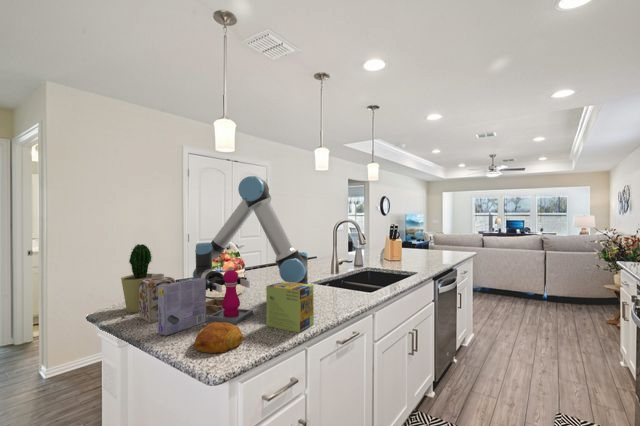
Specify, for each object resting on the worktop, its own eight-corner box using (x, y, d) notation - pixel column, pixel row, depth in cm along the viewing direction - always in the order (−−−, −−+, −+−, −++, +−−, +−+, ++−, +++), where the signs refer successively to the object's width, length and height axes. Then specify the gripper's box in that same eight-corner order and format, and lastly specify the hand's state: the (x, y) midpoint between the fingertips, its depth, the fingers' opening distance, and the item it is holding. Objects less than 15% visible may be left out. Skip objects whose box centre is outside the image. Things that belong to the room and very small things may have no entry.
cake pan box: (200, 319, 135) (200, 276, 135) (209, 321, 132) (208, 277, 132) (156, 334, 118) (156, 285, 118) (165, 337, 116) (164, 286, 116)
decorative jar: (148, 323, 130) (148, 278, 130) (138, 317, 138) (137, 274, 138) (178, 316, 139) (178, 273, 139) (167, 311, 146) (166, 270, 146)
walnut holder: (235, 306, 152) (235, 300, 152) (220, 313, 142) (220, 306, 142) (214, 304, 156) (214, 298, 156) (199, 311, 145) (199, 304, 145)
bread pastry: (214, 341, 118) (212, 318, 118) (250, 341, 112) (248, 317, 112) (183, 356, 104) (180, 330, 105) (222, 357, 98) (219, 330, 99)
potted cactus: (114, 314, 142) (113, 244, 142) (131, 304, 157) (130, 241, 157) (151, 313, 143) (150, 244, 143) (164, 303, 158) (164, 241, 158)
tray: (253, 314, 140) (253, 309, 140) (236, 324, 128) (236, 319, 128) (226, 311, 144) (226, 307, 144) (208, 321, 132) (208, 316, 132)
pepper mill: (218, 315, 136) (218, 266, 136) (233, 310, 141) (233, 264, 141) (228, 318, 131) (227, 268, 131) (243, 314, 137) (243, 266, 136)
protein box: (300, 333, 119) (300, 290, 119) (265, 326, 126) (265, 285, 126) (314, 324, 128) (314, 284, 128) (281, 318, 135) (281, 280, 135)
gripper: (236, 283, 158) (260, 291, 141) (186, 291, 142) (206, 301, 126) (236, 267, 158) (260, 273, 141) (185, 274, 142) (206, 281, 125)
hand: (235, 286), depth 133 cm, fingers open, 11 cm apart
